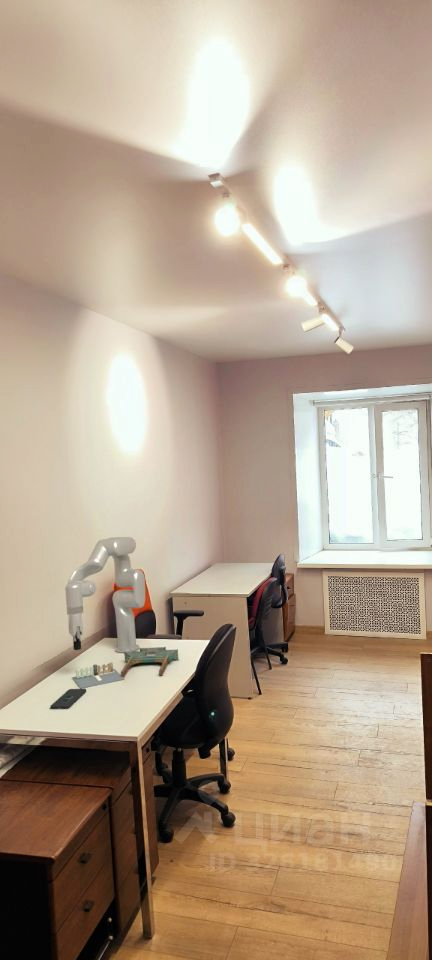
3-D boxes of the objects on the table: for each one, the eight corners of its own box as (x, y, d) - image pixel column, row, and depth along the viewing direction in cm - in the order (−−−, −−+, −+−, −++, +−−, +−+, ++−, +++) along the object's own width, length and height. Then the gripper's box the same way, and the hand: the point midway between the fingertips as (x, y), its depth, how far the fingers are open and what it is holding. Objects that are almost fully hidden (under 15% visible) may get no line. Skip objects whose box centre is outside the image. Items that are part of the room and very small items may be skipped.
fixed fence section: (94, 675, 290) (93, 666, 290) (93, 674, 292) (92, 665, 292) (113, 671, 294) (113, 662, 294) (112, 670, 295) (112, 661, 295)
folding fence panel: (92, 674, 291) (92, 666, 291) (93, 675, 290) (92, 667, 290) (76, 677, 288) (75, 669, 288) (76, 678, 287) (76, 670, 287)
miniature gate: (111, 668, 286) (127, 646, 316) (113, 680, 286) (128, 657, 316) (170, 666, 283) (180, 644, 313) (171, 678, 284) (181, 655, 314)
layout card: (72, 678, 291) (72, 677, 291) (114, 669, 299) (114, 668, 299) (80, 688, 275) (80, 687, 275) (124, 679, 283) (124, 678, 283)
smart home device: (49, 706, 253) (68, 688, 273) (49, 710, 253) (69, 692, 273) (68, 706, 252) (87, 688, 272) (68, 710, 252) (87, 692, 272)
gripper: (63, 608, 299) (66, 647, 299) (70, 614, 285) (72, 654, 285) (79, 606, 302) (82, 644, 302) (86, 611, 288) (89, 651, 288)
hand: (77, 649), depth 294 cm, fingers closed
